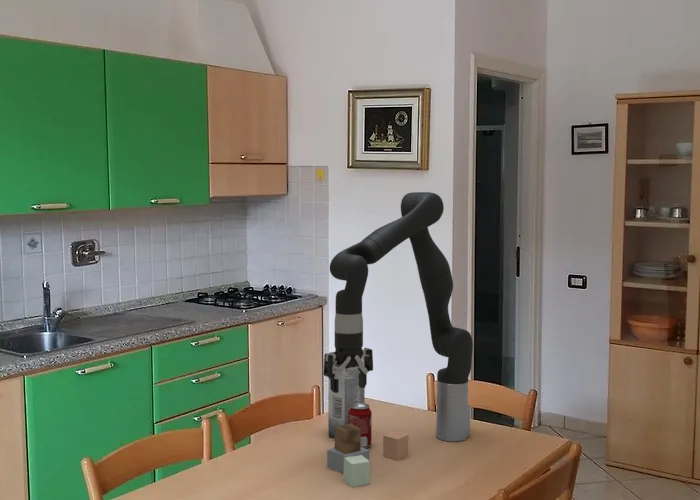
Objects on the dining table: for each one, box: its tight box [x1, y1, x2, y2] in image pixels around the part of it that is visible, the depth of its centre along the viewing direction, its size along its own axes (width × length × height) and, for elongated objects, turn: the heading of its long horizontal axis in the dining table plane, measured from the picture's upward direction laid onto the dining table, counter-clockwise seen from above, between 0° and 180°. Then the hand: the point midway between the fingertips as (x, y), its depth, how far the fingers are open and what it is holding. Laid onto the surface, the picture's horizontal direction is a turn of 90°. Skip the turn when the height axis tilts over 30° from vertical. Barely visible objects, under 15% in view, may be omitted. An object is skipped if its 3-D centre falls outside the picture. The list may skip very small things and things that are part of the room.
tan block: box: [382, 431, 410, 461], centre depth 219 cm, size 5×5×6 cm
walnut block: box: [334, 424, 361, 454], centre depth 210 cm, size 5×5×6 cm
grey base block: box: [326, 446, 371, 474], centre depth 210 cm, size 8×8×5 cm
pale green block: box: [343, 455, 371, 488], centre depth 200 cm, size 5×5×6 cm
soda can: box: [348, 402, 373, 449], centre depth 226 cm, size 7×7×12 cm
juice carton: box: [327, 351, 366, 439], centre depth 235 cm, size 9×10×27 cm
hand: (348, 389), depth 208 cm, fingers open, 8 cm apart
